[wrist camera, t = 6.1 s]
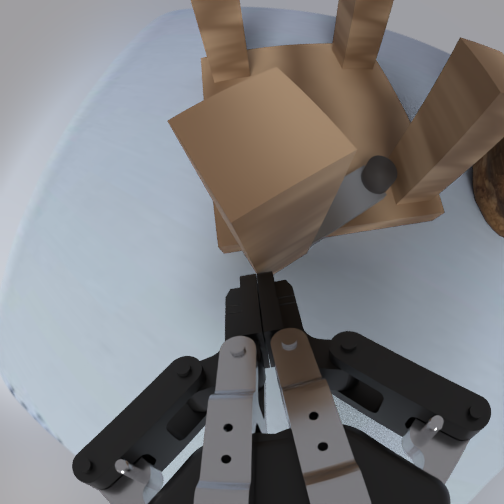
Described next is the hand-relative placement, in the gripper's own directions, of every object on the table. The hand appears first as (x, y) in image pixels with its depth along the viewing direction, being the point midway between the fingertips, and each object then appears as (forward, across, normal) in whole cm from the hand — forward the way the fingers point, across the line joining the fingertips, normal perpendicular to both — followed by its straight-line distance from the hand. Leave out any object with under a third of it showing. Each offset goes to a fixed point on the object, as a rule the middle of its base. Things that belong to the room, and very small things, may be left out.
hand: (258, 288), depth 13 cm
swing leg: (+5, -4, 0) cm, 7 cm away
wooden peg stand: (+13, -6, -5) cm, 15 cm away
